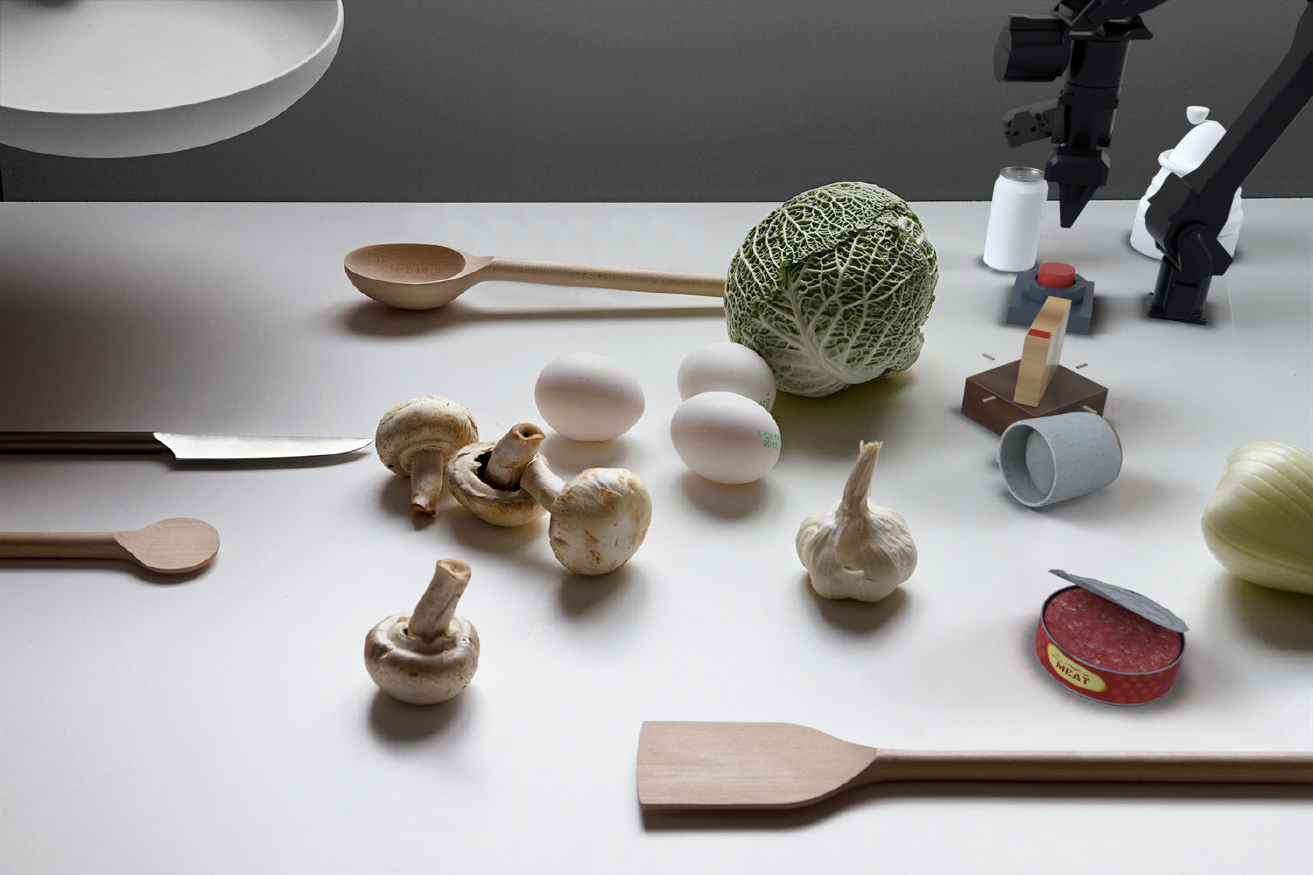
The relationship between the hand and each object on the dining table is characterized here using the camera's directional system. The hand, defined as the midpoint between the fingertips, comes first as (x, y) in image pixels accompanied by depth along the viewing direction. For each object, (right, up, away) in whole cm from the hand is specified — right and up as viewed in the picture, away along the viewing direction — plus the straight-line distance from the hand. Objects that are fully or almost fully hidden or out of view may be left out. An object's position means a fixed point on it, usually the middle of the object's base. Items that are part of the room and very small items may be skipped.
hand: (1066, 222), depth 128 cm
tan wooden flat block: (-9, -19, -18) cm, 28 cm away
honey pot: (+24, +1, +23) cm, 33 cm away
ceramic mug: (-12, -29, -26) cm, 41 cm away
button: (0, -6, +4) cm, 7 cm away
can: (-1, -2, +18) cm, 18 cm away
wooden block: (-9, -22, -16) cm, 29 cm away
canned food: (-14, -41, -45) cm, 63 cm away
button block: (0, -9, +6) cm, 11 cm away
